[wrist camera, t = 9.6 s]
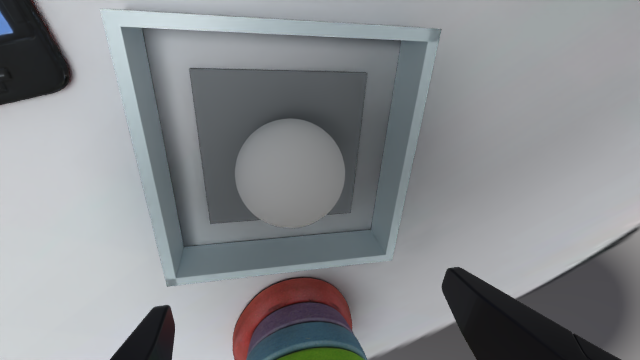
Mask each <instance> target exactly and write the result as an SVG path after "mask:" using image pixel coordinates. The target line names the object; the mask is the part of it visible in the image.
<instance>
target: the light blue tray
mask: <svg viewBox="0 0 640 360" xmlns="http://www.w3.org/2000/svg"><path fill="white" fill-rule="evenodd" d="M100 12H101V16H102V20H103V24H104V29H105V33H106V37H107V41H108V45H109V49H110V53H111V57H112V62H113V66H114V70H115V74H116V78H117V82H118V86H119V90H120V95H121V99H122V103H123V107H124V111H125V115H126V119H127V123H128V128H129V132H130V136H131V140H132V144H133V148H134V152H135V157H136V161H137V165H138V169H139V173H140V177H141V181H142V185H143V190H144V194H145V198H146V202H147V206H148V210H149V214H150V218H151V223H152V227H153V231H154V235H155V239H156V243H157V247H158V251H159V256H160V260H161V264H162V268H163V272H164V276H165V280H166V284H167V287H168V286H176V285H185V284H193V283H202V282H211V281H219V280H228V279H236V278H245V277H254V276H262V275H271V274H279V273H288V272H296V271H305V270H314V269H322V268H331V267H339V266H348V265H356V264H365V263H374V262H382V261H391V260H392V258H393V254H394V249H395V244H396V240H397V235H398V230H399V226H400V221H401V216H402V211H403V207H404V202H405V197H406V193H407V188H408V183H409V179H410V174H411V169H412V165H413V160H414V155H415V150H416V146H417V141H418V136H419V132H420V127H421V122H422V118H423V113H424V108H425V104H426V99H427V94H428V89H429V85H430V80H431V75H432V71H433V66H434V61H435V57H436V52H437V47H438V43H439V38H440V33H441V29H434V28H421V27H406V26H389V25H372V24H356V23H339V22H322V21H305V20H288V19H272V18H255V17H238V16H221V15H204V14H188V13H171V12H154V11H137V10H117V9H100ZM142 28H159V29H180V30H200V31H221V32H241V33H262V34H282V35H303V36H323V37H344V38H364V39H385V40H401V46H400V52H399V59H398V65H397V71H396V77H395V83H394V89H393V96H392V102H391V108H390V114H389V120H388V127H387V133H386V139H385V145H384V151H383V158H382V164H381V170H380V176H379V182H378V189H377V195H376V201H375V207H374V213H373V219H372V226H371V230H362V231H351V232H340V233H329V234H319V235H308V236H297V237H286V238H275V239H264V240H253V241H242V242H232V243H221V244H210V245H199V246H188V247H184V245H183V240H182V235H181V230H180V224H179V219H178V214H177V209H176V203H175V198H174V193H173V188H172V183H171V177H170V172H169V167H168V162H167V156H166V151H165V146H164V141H163V136H162V130H161V125H160V120H159V115H158V109H157V104H156V99H155V94H154V89H153V83H152V78H151V73H150V68H149V62H148V57H147V52H146V47H145V42H144V36H143V31H142Z"/></svg>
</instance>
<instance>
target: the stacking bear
mask: <svg viewBox="0 0 640 360" xmlns="http://www.w3.org/2000/svg"><path fill="white" fill-rule="evenodd" d="M233 355H234V359H235V360H367V358H366V355H365V353H364V351H363V349H362V347H361V345H360V344H359V342H358V340H357V338H356V337H355V336H354V334H353V332H352V319H351V314H350V311H349V307H348V304H347V302H346V300H345V298H344V297H343V296H342V294H341V293H340V292H339V291H338V290H337V289H336V288H335V287H334V286H332V285H331V284H329V283H327V282H325V281H322V280H318V279H312V278H296V279H290V280H286V281H283V282H280V283H277V284H274V285H272V286H270V287H268V288H267V289H265V290H263V291H262V292H261V293H259V294H258V295H257V296H256V297H255V298H254V299H253V300H252V301H251V302H250V303H249V305H248V306H247V307H246V308H245V310H244V311H243V313H242V314H241V316H240V318H239V320H238V322H237V324H236V327H235V330H234V334H233Z"/></svg>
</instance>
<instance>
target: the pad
mask: <svg viewBox="0 0 640 360" xmlns="http://www.w3.org/2000/svg"><path fill="white" fill-rule="evenodd" d="M189 71H190V78H191V86H192V93H193V100H194V108H195V115H196V123H197V130H198V137H199V145H200V152H201V160H202V167H203V174H204V182H205V189H206V197H207V204H208V211H209V219H210V224H214V223H227V222H239V221H252V220H261V219H259V218H257V217H256V216H255V215H254V214H253V213H252V212H251V211H250V210H249V209H248V208H247V207H246V205H245V204H244V203H243V201H242V199H241V197H240V195H239V193H238V190H237V187H236V180H235V166H236V160H237V157H238V154H239V152H240V149H241V147H242V146H243V144H244V143H245V141H246V140H247V138H248V137H249V136H250V135H251V134H252V133H253V132H254V131H256V130H257V129H258V128H260V127H261V126H263V125H265V124H267V123H269V122H272V121H275V120H280V119H289V118H290V119H300V120H305V121H308V122H310V123H313V124H315V125H317V126H319V127H320V128H322V129H323V130H324V131H325V132H327V133H328V134H329V135H330V136H331V137H332V139H333V140H334V141H335V143H336V144H337V146H338V148H339V149H340V152H341V154H342V157H343V161H344V165H345V181H344V187H343V190H342V193H341V195H340V197H339V200H338V201H337V203H336V204H335V206H334V207H333V208H332V209H331V211H330V212H329V213H328V214H327V215H329V214H341V213H351V206H352V197H353V189H354V181H355V172H356V164H357V156H358V148H359V139H360V131H361V123H362V114H363V106H364V98H365V89H366V81H367V73H366V72H330V71H288V70H247V69H205V68H190V69H189Z"/></svg>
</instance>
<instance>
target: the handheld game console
mask: <svg viewBox="0 0 640 360" xmlns="http://www.w3.org/2000/svg"><path fill="white" fill-rule="evenodd" d="M69 80H70V73H69V69H68V66H67V64H66V62H65V60H64V59H63V57H62V56H61V54H60V52H59V50H58V48H57V46H56V44H55V43H54V41H53V39H52V37H51V35H50V34H49V32H48V30H47V28H46V27H45V25H44V23H43V21H42V20H41V18H40V16H39V14H38V13H37V11H36V9H35V7H34V5H33V4H32V2H31V0H0V105H2V104H6V103H12V102H16V101H20V100H25V99H29V98H34V97H38V96H42V95H47V94H52V93H54V92H57V91H59V90H61V89H63V88H64V87H65V86H66V85H67V84H68V82H69Z"/></svg>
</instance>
